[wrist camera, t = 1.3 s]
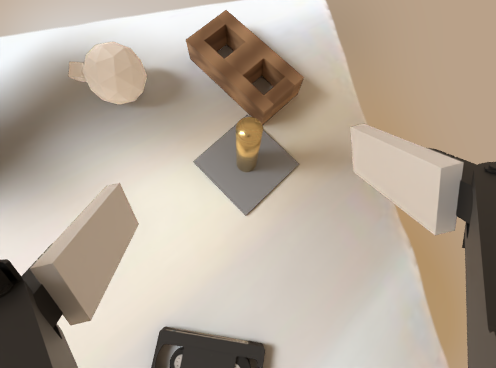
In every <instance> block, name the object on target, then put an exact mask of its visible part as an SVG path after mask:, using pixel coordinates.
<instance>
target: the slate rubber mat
mask: <svg viewBox="0 0 496 368" xmlns="http://www.w3.org/2000/svg"><path fill="white" fill-rule="evenodd" d="M245 117H249V116H248V115H246V116H245ZM245 117H244V118H245ZM236 125H237V124H236ZM236 125H235V126H234V127H233V128H231V129H230V130H229V131H228V132H227V133H226V134H224V135H223V136H222V137H221V138H220V139H219V140H218V141H216V142H215V143H214V144H213V145H212V146H211V147H209V148H208V149H207V150H206V151H205V152H204V153H203V154H201V155H200V156H199V157H198V158H197V159H196V160H194V161H193V162H194V163H195V164H196V165H197V166H198V167H199V168H200V169H201V170H202V171H203V172H204V173H205V174H206V175H207V176H208V177H209V178H210V179H211V181H212V182H213V183H214V184H215V185H216V186H217V187H218V188H219V189H220V190H221V191H222V192H223V193H224V194H225V195H226V196H227V197H228V198H229V199H230V200H231V201H232V202H233V203H234V204H235V205H236V206H237V207H238V208H239V209H240V210H241V211H242V212H243V213H244V214H245V215H247V214H248V213H249V212H250V211H251V210H252V209H253V208H254V207H255V206H256V205H257V204H258V203H259V202H260V201H261V200H262V199H263V198H264V197H265V196H267V195H268V194H269V193H270V192H271V191H272V190H273V189H274V188H275V187H276V186H277V185H278V184H279V183H280V182H281V181H282V180H283V179H284V178H285V177H286V176H287V175H288V174H289V173H290V172H291V171H292V170H293V169H294V168H295V167H296V166H297V165H298V164H299V163H298V162H297V161H296V160H294V159H293V158H292V157H291V156H290V155H289V154H288V153H287V152H286V151H285V150H284V149H283V148H282V147H281V146H280V145H279V144H277V143H276V142H275V141H274V140H273V139H272V138H271V137H270V136H269V135H268V134H267V133H266V132H265V131H264V130H263V133H262V138H261V143H260V148H259V153H258V158H257V163H256V167H255V168H254V169H253V170H252V171H250V172H243V171H241V170H240V169H239V168H238V167H237V162H236Z"/></svg>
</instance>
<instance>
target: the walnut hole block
mask: <svg viewBox="0 0 496 368" xmlns="http://www.w3.org/2000/svg"><path fill="white" fill-rule="evenodd" d="M186 43H187V47H188V51H189V55H190V59H191V60H192V61H193V62H194V63H195V64H196V65H197V66H198V67H199V68H201V69H202V70H203V71H204V72H205V73H206V74H207V75H208V76H209V77H210V78H211V79H212V80H213V81H214V82H215V83H216V84H218V85H219V86H220V87H221V88H222V89H223V90H224V91H225V92H226V93H227V94H228V95H229V96H230V97H231V98H232V99H233V100H235V101H236V102H237V103H238V104H239V105H240V106H241V107H242V108H243V109H244V110H245V111H246V112H247V113H248V114H249V115H250V116H252V117H253V118H256V119H257V120H259V121H260V122H261V124H262V125H263V124H264V123H265V122H267V121H268V120H269V119H270V118H271V117H272V116H273V115H274V114H276V113H277V112H278V111H279V110H280V109H281V108H282V107H283V106H285V105H286V104H287V103H288V102H289V101H290V100H291V99H292V98H294V97H295V96H296V95H297V94H298V92H299V89H300V86H301V84H302V81H303V78H304V77H303V76H302V75H300V74H299V73H298V72H297V71H296V70H295V69H294V68H292V67H291V66H290V65H289V64H288V63H287V62H286V61H284V60H283V59H282V58H281V57H280V56H279V55H277V54H276V53H275V52H274V51H273V50H272V49H271V48H269V47H268V46H267V45H266V44H265V43H264V42H263V41H261V40H260V39H259V38H258V37H257V36H256V35H254V34H253V33H252V32H251V31H250V30H249V29H248V28H246V27H245V26H244V25H243V24H242V23H241V22H240V21H238V20H237V19H236V18H235V17H234V16H233V15H232V14H230V13H229V12H228V11H227V10H225V11H224V12H223V13H221V14H220V15H219V16H217V17H216V18H215V19H213V20H212V21H210V22H209V23H208V24H206V25H205V26H204V27H202V28H201V29H200V30H198V31H197V32H196V33H194V34H193V35H192V36H190V37H189V38H188V39H186ZM225 45H228V46H229V47H230V48H231V49H232V50H233V51H234V52H232V53H231V54H230V55H229V56H227V57H226V58H225V59H224V58H223V57H222V56H221V55H219V54H218V53H217V52H218V51H219V50H220V49H222V48H223V47H224V46H225ZM261 76H262V77H263V78H265V79H266V80H267V81H268V82H269V83H270V84H271V85H272V86H273V88H272V89H271V90H269V91H268V92H267V93H266V94H265V95H263V94H262V93H261V92H260V91H259V90H258V89H257V88H256V87H254V86H253V85H252V83H253V82H255V81H256V80H257V79H258V78H259V77H261Z"/></svg>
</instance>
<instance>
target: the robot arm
mask: <svg viewBox="0 0 496 368" xmlns="http://www.w3.org/2000/svg"><path fill="white" fill-rule="evenodd" d="M351 144H352V161H353V172H354V173H355V174H357V175H358V176H359V177H361V178H362V179H363V180H364V181H366V182H367V183H368V184H370V185H371V186H372V187H373V188H375V189H376V190H377V191H379V192H380V193H381V194H382V195H384V196H385V197H386V198H388V199H389V200H390V201H391V202H393V203H394V204H395V205H397V206H398V207H399V208H400V209H402V210H403V211H404V212H406V213H407V214H408V215H409V216H411V217H412V218H413V219H415V220H416V221H417V222H418V223H420V224H421V225H422V226H424V227H425V228H426V229H427V230H429V231H430V232H431V233H433V234H434V235H439V234H443V233H447V232H451V231H455V226H456V218H457V217H459V218H461V219H462V220H464V221H466V225H465V233H464V239H463V246H462V248H465V261H466V262H465V263H466V303H467V304H466V305H467V346H468V368H496V162H487V163H482V164H478V165H476V164H474V163H471V162H468V161H466V160H463V159H460V158H458V157H454V156H452V155H449V154H446V153H445V152H442V151H439V150H436V149H431V148H425V147H423V146H420V145H418V144H415V143H412V142H410V141H407V140H405V139H402V138H400V137H397V136H395V135H392V134H390V133H387V132H384V131H382V130H379V129H377V128H374V127H371V126H369V125H367V124H360V125H355V126H351ZM137 227H138V222H137V219H136V217H135V215H134V213H133V211H132V209H131V206H130V204H129V202H128V200H127V198H126V196H125V193H124V191H123V189H122V187H121V185H120V183H117V184H113V185H109V186H106V187H105V188H104V189H103V190H102V191H101V192H100V193H99V194H98V195H97V196H96V198H95V199H94V200H93V201H92V202H91V203H90V204H89V205H88V206H87V207H86V208H85V209H84V211H83V212H82V213H81V214H80V215H79V216H78V217H77V218H76V219H75V220H74V221H73V222H72V224H71V225H70V226H69V227H68V228H67V229H66V230H65V231H64V232H63V233H62V234H61V235H60V236H59V238H58V239H57V240H56V241H55V242H54V243H52V244H51V245H50V246H49V247H48V248H47V250H46V251H45V252H44V254H42V255H41V256H40V257H39V258H38V260H37V261H35V262H34V263H33V265H32V266H31V267H30V268H29V269H28V270H27V271H26V272H25V273H24V274H23V275H22V276H20V274H19V273H18V272H17V270H16V269H15V268H14V266H13V265H12V264H11V262H10V261H9V260H7V259H6V260H0V368H78V367H77V364H76V362H75V360H74V357H73V355H72V353H71V351H70V348H69V346H68V344H67V341H66V339H65V337H64V335H63V332H62V330H61V329H60V328H59V326H58V325H57V322H58V320H59V319H60V317H61V316H62V314H63V316H64V317H65V318H66V320H67V321H68V322H69V324H70V325H74V324H78V323H82V322H86V321H90V320H91V319H92V317H93V315H94V313H95V311H96V309H97V307H98V305H99V303H100V301H101V299H102V297H103V295H104V293H105V291H106V289H107V287H108V285H109V283H110V281H111V279H112V277H113V275H114V273H115V271H116V269H117V267H118V265H119V263H120V261H121V259H122V257H123V255H124V253H125V251H126V249H127V247H128V245H129V243H130V241H131V239H132V237H133V235H134V233H135V231H136V229H137Z"/></svg>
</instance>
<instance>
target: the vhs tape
mask: <svg viewBox="0 0 496 368" xmlns="http://www.w3.org/2000/svg"><path fill="white" fill-rule="evenodd" d="M164 344H171V345H177V346H183V347H181V348H179V349H177V350H176V351H175V352H174V354H173V355H172V357H171V360H170V368H251V367H250V362H249V360H248V358H252V359H255V360H256V361H257V363H258V368H263V361H264V353H265V349H264V346H263V344H262V343H257V342H251V341H244V340H238V339H233V338H227V337H221V336H215V335H209V334H204V333H198V332H192V331H186V330H181V329H175V328H169V327H164V328H163V329H162V330H161V331H160V332H159V336H158V341H157V345H156V349H155V354H154V358H153V363H152V367H151V368H155V363H156V358H157V355H158V352H159V350H160V348H161V347H162V346H163V345H164Z"/></svg>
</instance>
